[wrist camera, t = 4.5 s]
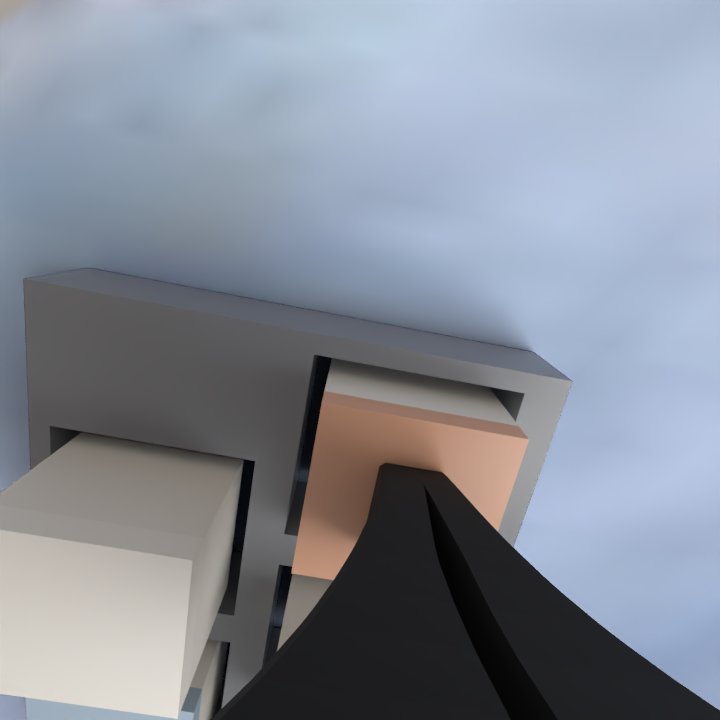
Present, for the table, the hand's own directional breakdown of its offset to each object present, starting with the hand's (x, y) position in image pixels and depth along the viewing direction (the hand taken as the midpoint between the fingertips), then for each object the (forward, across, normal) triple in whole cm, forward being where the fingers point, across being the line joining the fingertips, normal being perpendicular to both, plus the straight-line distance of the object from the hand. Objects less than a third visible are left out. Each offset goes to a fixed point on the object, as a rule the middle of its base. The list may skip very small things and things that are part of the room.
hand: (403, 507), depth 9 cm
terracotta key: (+3, 0, 0) cm, 3 cm away
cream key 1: (+2, +6, +3) cm, 7 cm away
